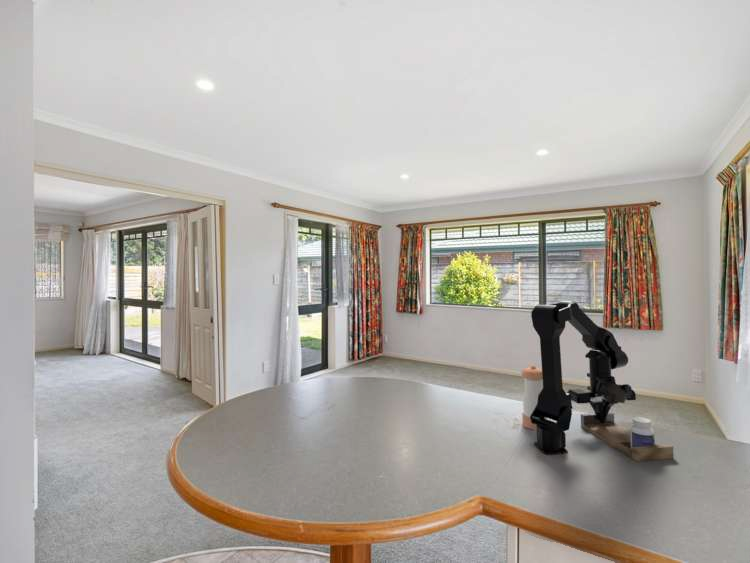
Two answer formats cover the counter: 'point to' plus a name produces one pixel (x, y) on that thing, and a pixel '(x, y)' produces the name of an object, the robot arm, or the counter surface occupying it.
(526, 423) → the pepper shaker
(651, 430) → the pill bottle
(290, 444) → the counter surface
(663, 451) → the brown long shallow piece
